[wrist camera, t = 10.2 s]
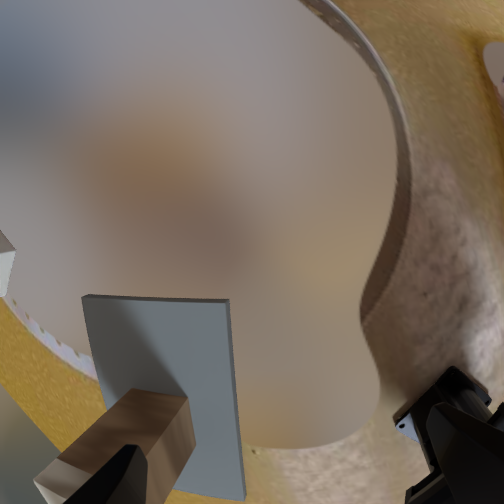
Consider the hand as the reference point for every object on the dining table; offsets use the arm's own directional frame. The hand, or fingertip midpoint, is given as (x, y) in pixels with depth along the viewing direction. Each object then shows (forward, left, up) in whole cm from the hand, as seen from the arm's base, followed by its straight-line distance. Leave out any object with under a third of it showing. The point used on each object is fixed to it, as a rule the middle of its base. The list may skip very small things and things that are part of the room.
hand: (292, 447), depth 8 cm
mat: (+3, +14, -13) cm, 19 cm away
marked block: (+3, +14, -12) cm, 18 cm away
